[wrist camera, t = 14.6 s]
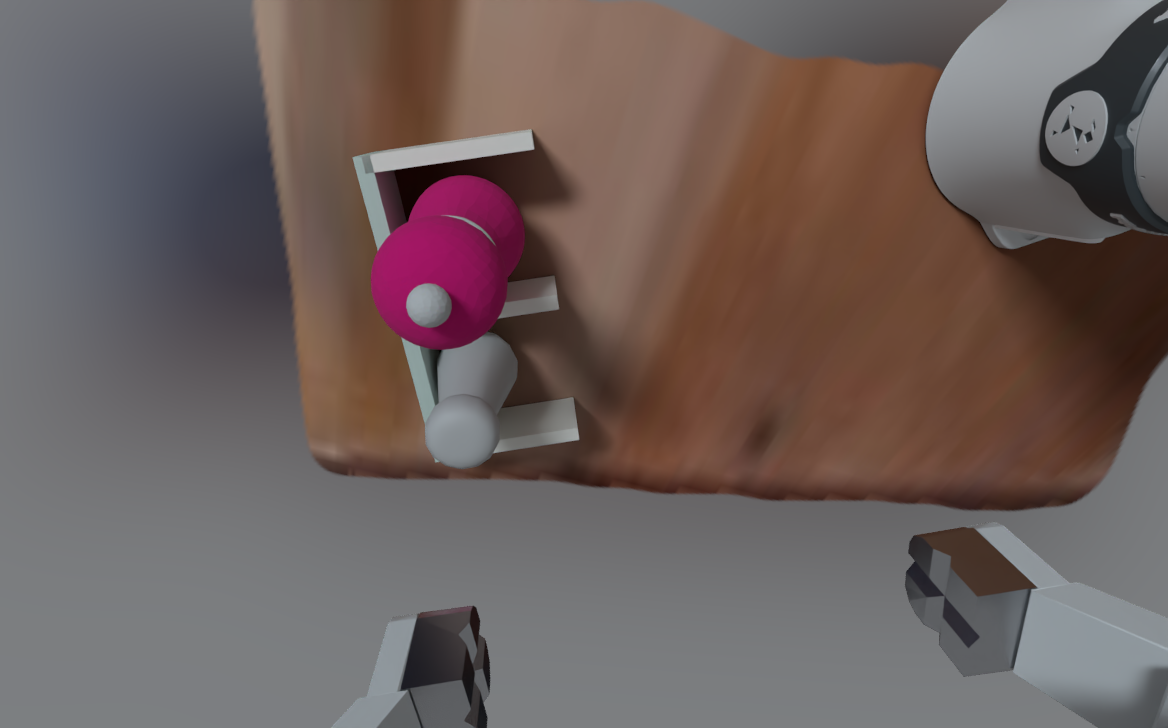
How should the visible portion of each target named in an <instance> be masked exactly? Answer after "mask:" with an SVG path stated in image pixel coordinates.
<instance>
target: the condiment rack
mask: <svg viewBox="0 0 1168 728" xmlns="http://www.w3.org/2000/svg"><path fill="white" fill-rule="evenodd" d="M527 150H534V141H533V134H532V129H530V130H523V131H516V132H509V133H502V134H495V135H488V136H481V137H474V138H467V139H460V140H454V141H447V142H440V143H433V144H426V145H419V146H412V147H405V148H398V149H391V150H384V151H377V152H372V153H368V154H364V155H360V156H356V157H353V161H354V165H355V168H356V172H357V176H358V179H359V183H360V187H361V190H362V194H363V198H364V201H365V205H366V209H367V212H368V216H369V220H370V223H371V227H372V231H373V235H374V238H375V242H376V246H377V249H378V250H379V248H380V247H381V245H382V244H383V242H384V241H385V239H386V238H387V237H388V236H389V235H390V234H391V233H392V232H394V231H395V230H396V229H397V228H398V227H400V226H401V225H403V224H405V223H407V221H406V217H405V213H404V209H403V205H402V201H401V196H400V192H399V188H398V184H397V180H396V176H395V172H394V170H396V169H403V168H410V167H417V166H424V165H431V164H438V163H444V162H451V161H458V160H465V159H472V158H479V157H486V156H493V155H500V154H507V153H514V152H520V151H527ZM558 309H559V305H558V297H557V289H556V282H555V276H548V277H541V278H534V279H528V280H521V281H514V282H508V286H507V298H506V301H505V304H504V307H503V310H502V313H501V314H500V316H499V317H498V318H505V317H512V316H518V315H525V314H532V313H538V312H545V311H552V310H558ZM402 341H403V345H404V348H405V352H406V356H407V359H408V363H409V367H410V370H411V374H412V378H413V382H414V385H415V389H416V393H417V396H418V400H419V404H420V407H421V411H422V415H423V418H424V422H425V424H426V421H427V419H428V417H429V415H430V414H431V412H432V410H433V408H434V406H436V405H437V404H438V403H439V398H438V368H437V359H438V357H439V355H440V354H439V350H438V349H428V348H425V347H421V346H417V345H415V344H413V343H411V342H408V341H406V340H405V339H403V338H402ZM497 417H498V419H499V420H500V441H499V443H498V445H497V447H496V448H495V450H494V452H493V453H498V452H504V451H511V450H517V449H524V448H530V447H537V446H543V445H549V444H556V443H562V442H569V441H575V440H579V433H578V426H577V419H576V411H575V405H574V398H573V397H572V398H565V399H559V400H552V401H546V402H539V403H532V404H526V405H519V406H513V407H506V408H501V409H500V411H499V412H498V414H497ZM434 459H435V458H434ZM435 462H439V461H438V460H437V459H435Z"/></svg>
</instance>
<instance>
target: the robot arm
mask: <svg viewBox="0 0 1168 728" xmlns="http://www.w3.org/2000/svg"><path fill="white" fill-rule="evenodd" d="M926 152H927V158H928V163H929V167H930V170H931V173H932V175H933V178H934V180H935V182H936V184H937V185H938V187H939V189H940V190H941V192H942V193H943V194H944V195H945V196H946V197H947V199H948V200H949V201H951V202H952V203H953V204H954V205H955V206H957V207H958V208H960V209H961V210H963V211H965V212H967V213H968V214H970V215H972V216H973V217H975V218H976V219H977V220H978V221H979V222H980V223H981V225H982V227H983V229H984V231H985V232H986V234H987V236H988V237H989V239H990V240H991V242H992V243H993V244H994V245H995V246H997V247H1000V248H1006V249H1016V248H1020V247H1023V246H1026V245H1029V244H1031V243H1034V242H1037V241H1040V240H1043V239H1046V238H1049V237H1052V238H1058V239H1064V240H1070V241H1076V242H1083V243H1100V242H1102V241H1103V240H1104V239H1105V238H1106V237H1111V236H1115V235H1118V234H1121V233H1123V232H1126V231H1128V230H1131V229H1134V230H1136V231H1140V232H1144V233H1150V234H1156V235H1163V236H1166V235H1167V236H1168V0H1007V2H1006V3H1005V4H1004V5H1003V6H1002V7H1001V8H999V9H998V10H997V11H996V12H995V13H994V14H992V15H991V16H990V17H989V18H988V19H986V20H985V21H984V22H983V23H982V24H981V25H979V27H977V28H976V29H975V30H974V31H973V32H972V33H971V34H970V35H969V36H968V38H967V39H966V40H965V41H964V42H963V43H962V45H961V46H960V47H959V49H958V50H957V51H956V52H955V54H954V55H953V57H952V58H951V60H950V61H949V63H948V65H947V67H946V68H945V70H944V72H943V74H942V76H941V78H940V80H939V82H938V84H937V87H936V89H935V92H934V95H933V98H932V101H931V105H930V109H929V113H928V118H927V126H926ZM908 553H909V554H910V556H911V557H912V558H913V559H914V560H915V562H914V563H913V564H912V565H911V567H910V568H909V569H908V570H907V571H906V581H905V587H906V591H907V595H908V599H909V602H910V604H911V606H912V608H913V609H914V612H915V613H916V615H917V616H918V617H919V619H920V620H921V621H922V623H923V624H924V625H926V626H928V627H930V628H931V629H933V630H935V631H937V632H939V633H940V636H939V637H940V638H939V645H940V647H941V648H942V649H943V650H944V652H945V653H946V654H947V656H948V657H949V658H950V659H951V661H952V662H953V663H954V665H955V666H956V667H957V669H958V670H959V671H960V672H961V674H962V675H963V676H964V677H965V676H972V675H980V674H987V673H995V672H1002V671H1010V670H1013V673H1014V674H1016V675H1017V676H1019V677H1021V678H1022V679H1023V680H1025V681H1027V682H1028V683H1030V684H1031V685H1033V686H1034V687H1036V688H1038V689H1039V690H1041V691H1042V692H1044V693H1045V694H1047V695H1049V696H1050V697H1051V698H1053V699H1055V700H1056V701H1058V702H1059V703H1061V704H1062V705H1064V706H1065V707H1067V708H1069V709H1070V710H1072V711H1073V712H1075V713H1076V714H1078V715H1079V716H1081V717H1083V718H1084V719H1086V720H1087V721H1089V722H1090V723H1092V724H1094V725H1095V726H1097V727H1098V728H1168V618H1166V617H1164V616H1162V615H1159V614H1157V613H1154V612H1152V611H1149V610H1147V609H1144V608H1142V607H1139V606H1137V605H1134V604H1132V603H1129V602H1126V601H1124V600H1122V599H1119V598H1116V597H1114V596H1112V595H1109V594H1106V593H1104V592H1102V591H1099V590H1097V589H1094V588H1091V587H1089V586H1086V585H1084V584H1082V583H1079V582H1077V583H1069V582H1067V581H1066V580H1065V579H1064V578H1063V577H1062V576H1061V575H1060V574H1058V573H1057V572H1056V571H1055V570H1054V569H1053V568H1052V567H1050V566H1049V565H1048V564H1047V563H1046V562H1045V561H1043V560H1042V559H1041V558H1040V557H1039V556H1038V555H1037V554H1035V553H1034V552H1033V551H1032V550H1031V549H1030V548H1028V547H1027V546H1026V545H1025V544H1024V543H1023V542H1022V541H1020V540H1019V539H1018V538H1017V537H1016V536H1015V535H1014V534H1012V533H1011V532H1010V531H1009V530H1008V529H1007V528H1005V527H1004V526H1003V525H1001V524H999V523H996V522H990V523H984V524H978V525H972V526H967V527H962V528H957V529H950V530H944V531H938V532H932V533H927V534H920V535H914V536H913V537H912V539H911V541H910V543H909V550H908ZM479 629H480V618H479V615H478V612H477V608H476V607H475V606H467V607H460V608H452V609H445V610H437V611H430V612H422V613H420V614H412V615H404V616H396V617H393V618H392V619H391V621H390V622H389V623H388V625H387V628H386V632H385V635H384V639H383V643H382V646H381V649H380V653H379V656H378V660H377V663H376V667H375V670H374V674H373V677H372V680H371V684H370V687H369V691H368V694H367V697H362V698H358V699H357V700H356V701H355V702H354V703H353V704H352V705H351V707H350V708H349V709H348V710H347V711H346V712H345V713H344V714H343V715H342V716H341V717H340V718H339V719H338V720H337V722H336V723H335V724H334V725H333V726H332V727H331V728H487V714H486V710H485V707H484V703H483V702H484V701H485V700H486V698H487V697H488V695H489V692H490V661H489V655H488V649H487V644H486V640H485V638H483V637H481V636H480V635H479Z"/></svg>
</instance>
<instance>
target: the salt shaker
mask: <svg viewBox="0 0 1168 728" xmlns="http://www.w3.org/2000/svg"><path fill="white" fill-rule="evenodd" d="M437 368H438V398H439V403H438V404H437V405H436V406H434V408H433V410H432V412H431V414H430V415H429V417H428V419H427V421H426V424H425V437H426V446H427V447H428V449H429V451H430V452H431V454H432V456H433V457H434V458H435V459H437V460H438V461H440V462H441V463H443V464H444V465H446V466H449V467H454V468H459V469H466V468H471V467H476V466H479V465H480V464H482V463H483V462H485V461H486V460H488V459H490V457H491V456H492V454H493V452H494V450H495V448H496V447H497V445H498V443H499V441H500V420H499V419H498V417H497V414H498V412H499V411H500V409H501V407H502V405H503V403H504V401H505V400H506V398H507V396H508V394H509V392H510V390H511V389H512V387H513V385H514V383H515V381H516V379H517V368H518V361H517V359H516V357H515V355H514V353H513V351H512V349H511V347H510V345H509V344H508V343H507V342H505V341H504V340H503V339H502V338H501V337H499V336H498V335H497V334H495V333H491V332H486V333H485V334H484V335H483V336H482V337H480V338H479V339H477V340H475V341H474V342H472V343H470V344H468V345H465V346H462V347H459V348H454V349H446V350H442V351H441V353H440V355H439V357H438V359H437Z"/></svg>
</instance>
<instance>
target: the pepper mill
mask: <svg viewBox="0 0 1168 728" xmlns="http://www.w3.org/2000/svg"><path fill="white" fill-rule="evenodd" d="M524 242H525V229H524V224H523V220H522V217H521V214H520V212H519V210H518V208H517V206H516V204H515V203H514V201H513V200H512V199H511V198H510V196H509V195H508V194H507V193H506V192H505V191H503V190H502V189H501V188H500V187H499V186H497V185H496V184H494V183H492V182H490V181H488V180H486V179H483V178H479V177H475V176H469V175H458V176H452V177H448V178H445V179H442V180H440V181H438V182H436V183H434V184H433V185H431V186H430V187H429V188H427V189H426V190H425V191H424V192H423V194H422V195H421V196H420V197H419V199H418V200H417V202H416V204H415V205H414V207H413V209H412V212H411V214H410V216H409V221H408V222H407V223H405V224H403V225H401V226H400V227H398V228H397V229H396V230H395V231H394V232H392V233H391V234H390V235H389V236H388V237H387V238H386V239H385V241H384V242H383V244H382V245H381V247H380V248H379V250H378V252H377V254H376V256H375V259H374V263H373V266H372V273H371V288H372V295H373V299H374V302H375V305H376V307H377V309H378V311H379V313H380V315H381V317H382V318H383V319H384V321H385V322H386V324H387V325H388V326H389V327H390V328H391V329H392V330H393V331H394V332H395V333H396V334H398V335H399V336H400V337H402V338H403V339H405V340H406V341H408V342H411V343H413V344H415V345H417V346H421V347H425V348H428V349H438V350H446V349H454V348H459V347H462V346H465V345H468V344H470V343H472V342H474V341H475V340H477V339H479V338H480V337H482V336H483V335H484V334H485V333H486V332H487V331H489V330H490V329H491V327H492V326H493V325H494V324H495V322H496V321H497V319H498V317H499V316H500V314H501V313H502V310H503V307H504V304H505V301H506V298H507V286H508V280H507V277H509V276H510V275H511V273H512V272H513V270H514V269H515V268H516V266H517V264H518V262H519V260H520V258H521V256H522V252H523V249H524Z"/></svg>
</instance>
